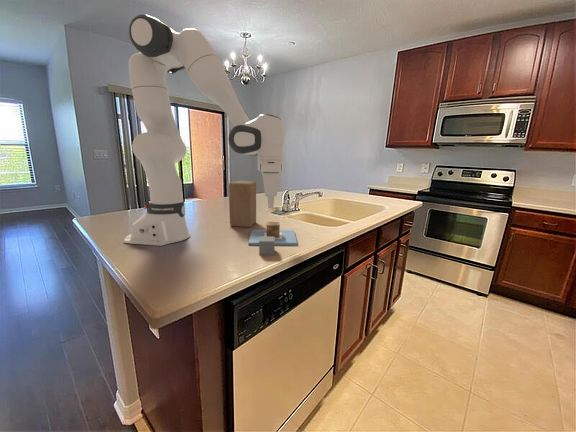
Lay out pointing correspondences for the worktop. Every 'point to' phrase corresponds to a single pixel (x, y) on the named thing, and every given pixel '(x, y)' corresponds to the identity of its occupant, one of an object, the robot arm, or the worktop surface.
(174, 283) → the worktop surface
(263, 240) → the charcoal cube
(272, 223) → the walnut cube
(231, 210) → the block
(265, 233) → the board
